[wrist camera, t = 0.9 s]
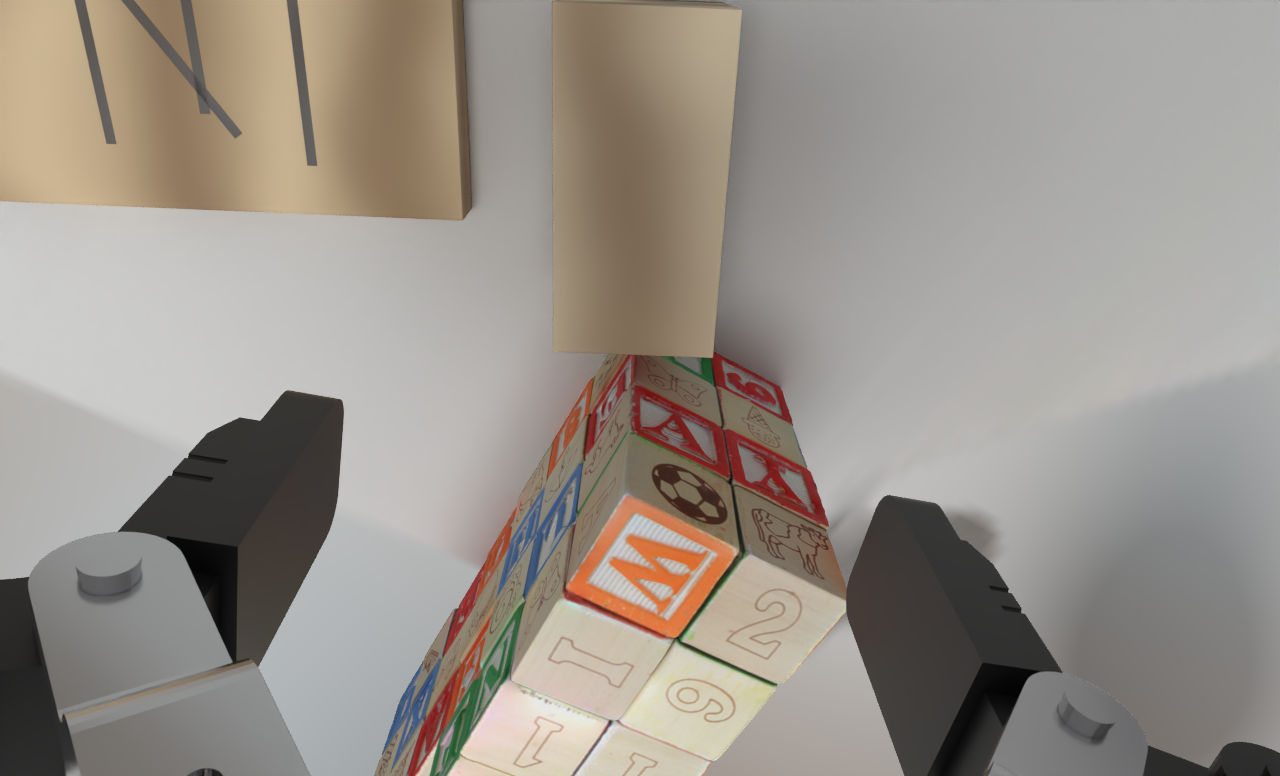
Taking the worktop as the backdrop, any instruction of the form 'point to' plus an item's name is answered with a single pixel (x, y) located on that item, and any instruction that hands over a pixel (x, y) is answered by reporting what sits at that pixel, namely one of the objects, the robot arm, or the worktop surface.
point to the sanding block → (640, 172)
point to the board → (237, 105)
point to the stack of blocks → (633, 588)
